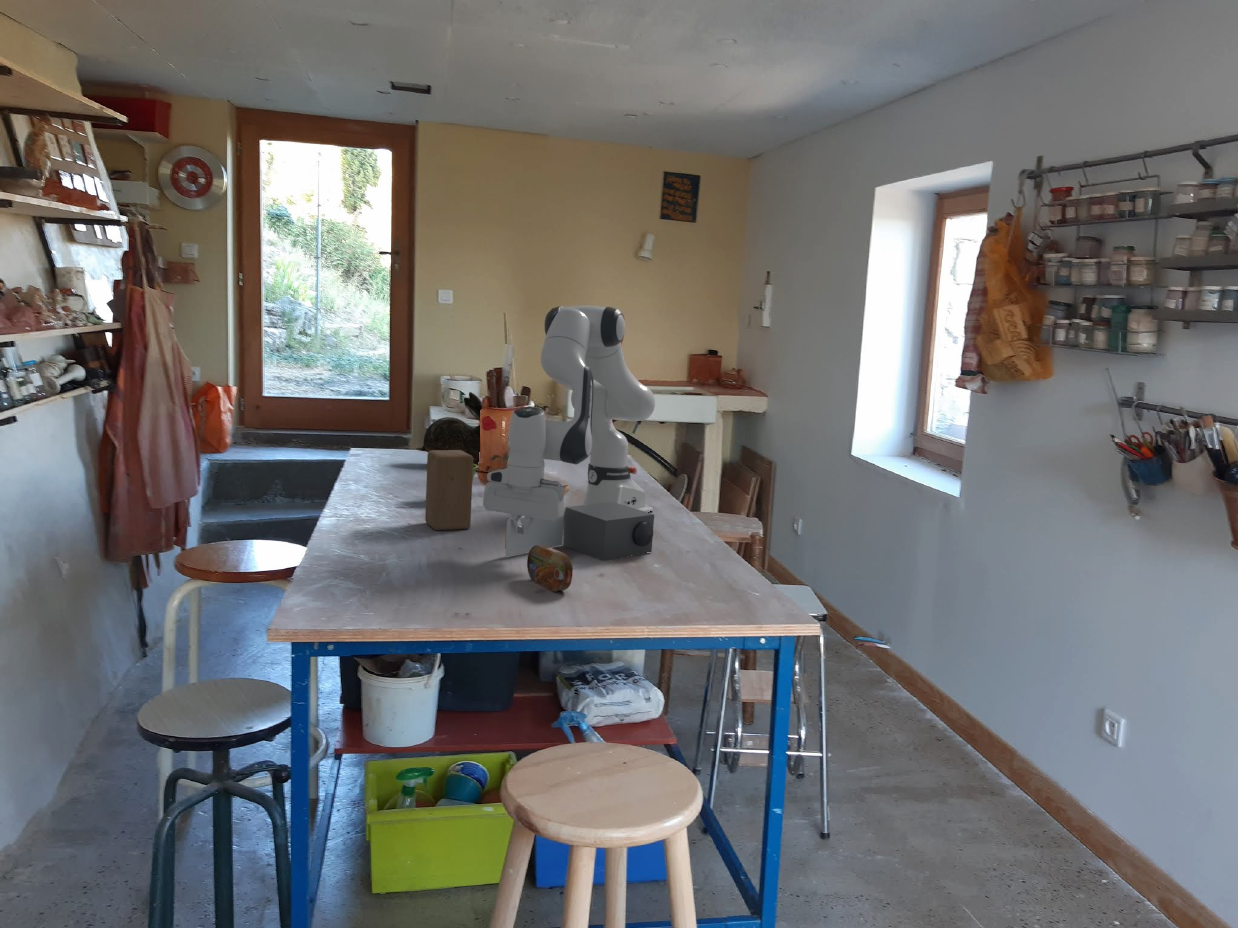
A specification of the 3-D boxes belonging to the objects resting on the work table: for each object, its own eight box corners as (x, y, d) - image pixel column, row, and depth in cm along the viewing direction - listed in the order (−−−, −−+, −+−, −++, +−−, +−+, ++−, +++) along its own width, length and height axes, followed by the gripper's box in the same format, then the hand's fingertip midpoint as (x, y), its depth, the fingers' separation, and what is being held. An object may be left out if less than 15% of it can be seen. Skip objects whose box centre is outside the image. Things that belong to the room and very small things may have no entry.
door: (562, 544, 241) (564, 510, 239) (508, 556, 227) (510, 519, 225) (557, 543, 242) (559, 509, 240) (503, 554, 228) (505, 518, 226)
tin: (525, 577, 213) (527, 541, 211) (537, 576, 214) (539, 539, 213) (561, 596, 201) (563, 558, 199) (573, 594, 203) (576, 556, 201)
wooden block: (434, 531, 247) (437, 456, 244) (424, 522, 256) (426, 449, 253) (471, 529, 252) (474, 455, 249) (459, 521, 261) (462, 449, 257)
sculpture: (473, 477, 323) (477, 397, 319) (412, 465, 339) (415, 388, 334) (509, 471, 339) (513, 395, 335) (449, 459, 355) (452, 386, 350)
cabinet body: (610, 538, 253) (613, 501, 251) (654, 553, 240) (657, 515, 239) (563, 545, 242) (565, 507, 241) (606, 561, 230) (609, 521, 228)
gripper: (570, 480, 223) (567, 537, 225) (494, 469, 230) (492, 524, 232) (558, 484, 217) (555, 542, 219) (481, 472, 224) (478, 529, 227)
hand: (522, 533), depth 226 cm, fingers closed
